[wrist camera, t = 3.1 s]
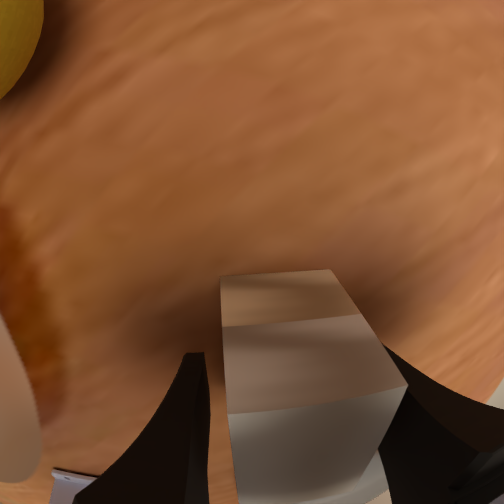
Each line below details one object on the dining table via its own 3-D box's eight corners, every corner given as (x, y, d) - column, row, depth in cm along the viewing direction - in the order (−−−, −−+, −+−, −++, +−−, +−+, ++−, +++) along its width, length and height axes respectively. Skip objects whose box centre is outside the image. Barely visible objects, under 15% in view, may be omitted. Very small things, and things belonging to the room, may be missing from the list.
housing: (228, 391, 14) (239, 509, 8) (219, 275, 11) (227, 414, 6) (314, 382, 14) (352, 490, 8) (329, 268, 12) (408, 384, 6)
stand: (241, 505, 20) (244, 530, 17) (233, 443, 15) (237, 480, 13) (368, 483, 21) (376, 504, 18) (411, 410, 16) (427, 439, 14)
